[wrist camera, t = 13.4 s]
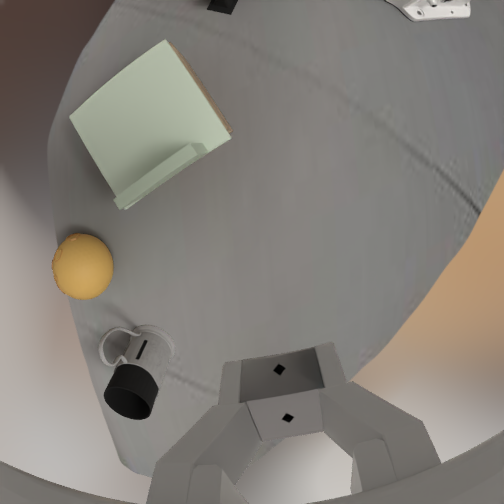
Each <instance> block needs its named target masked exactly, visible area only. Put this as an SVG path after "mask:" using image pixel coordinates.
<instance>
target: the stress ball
mask: <svg viewBox="0 0 504 504" xmlns="http://www.w3.org/2000/svg"><path fill="white" fill-rule="evenodd" d="M52 270H53V274H54V279H55V281H56V284H57V286H58V288H59V289H60V290H61V291H62V292H63V293H64V294H67V295H68V296H70V297H72V298H75V299H80V300H87V299H92V298H95V297H97V296H98V295H100V294H101V293H102V292H103V291H105V289H106V288H107V287H108V285H109V283H110V281H111V279H112V275H113V259H112V256H111V254H110V251H109V250H108V248H107V246H106V245H105V244H104V243H103V242H102V241H101V240H99V239H98V238H96V237H94V236H91V235H87V234H80V233H75V234H72V235H70V236H68V237H67V238H66V240H65V241H64V242H62V243H61V245H60V246H59V247H58V249H57V251H56V253H55V255H54V259H53V260H52Z"/></svg>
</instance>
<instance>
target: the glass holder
mask: <svg viewBox="0 0 504 504" xmlns="http://www.w3.org/2000/svg"><path fill="white" fill-rule="evenodd" d="M116 330H121V331H124V332H127V333H128V334H131V336H130V342H129V344H128V345H127V347H126V349H125V351H124V353H123V355H119V356H117V357H116V359H115V361H114V362H113V363H109V362H108V361H107V360H106V358H105V356H104V353H103V343H104V341H105V339H106V338H107V336H108V335H109V334H110V333H111V332H113V331H116ZM98 349H99V355H100V357H101V360H102V361H103V363H104V364H105V365H107V366H115V365H116V364H117V363H118V364H117V366H116V368H115V370H114V374H113V376H112V378H111V380H110V382H109V384H108V386H107V388H106V390H105V392H104V399H105V401H106V403H107V404H108V405H109V406H110V408H112V409H113V410H114V411H115V412H117V413H118V414H120V415H122V416H124V417H127V418H130V419H135V420H142V419H146V418H148V417H149V416H150V414H151V411H152V408H153V405H154V402H155V401H156V399H157V396H158V394H159V391H160V388H161V385H162V382H163V379H164V376H165V373H166V370H167V367H168V364H169V361H170V359H171V358H172V357H173V356H174V354H175V344H174V341H173V339H172V338H171V337H170V335H169V334H167V333H166V332H165V331H164V330H162V329H160V328H158V327H155V326H152V325H142V326H138V327H136V328H135V329H134V330H133V331H130V330H127V329H125V328H122V327H117V328H113V329H110V330H109V331H107V332H106V333H105V334H104V335H103V337H102V338H101V340H100V342H99V348H98Z"/></svg>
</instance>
